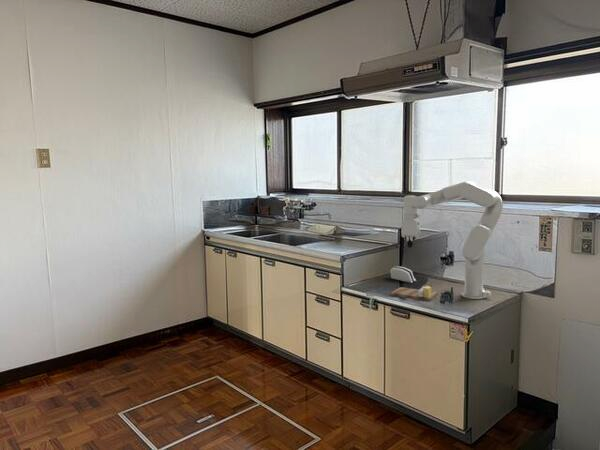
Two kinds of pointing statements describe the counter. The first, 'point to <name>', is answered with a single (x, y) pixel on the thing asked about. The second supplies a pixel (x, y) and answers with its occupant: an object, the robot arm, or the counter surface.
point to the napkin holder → (402, 274)
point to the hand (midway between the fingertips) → (410, 247)
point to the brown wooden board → (412, 294)
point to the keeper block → (426, 291)
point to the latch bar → (421, 291)
